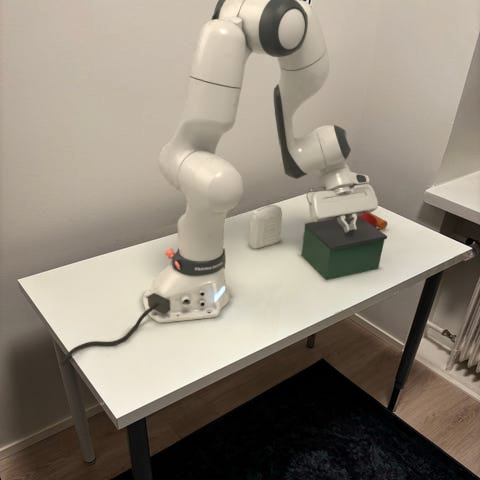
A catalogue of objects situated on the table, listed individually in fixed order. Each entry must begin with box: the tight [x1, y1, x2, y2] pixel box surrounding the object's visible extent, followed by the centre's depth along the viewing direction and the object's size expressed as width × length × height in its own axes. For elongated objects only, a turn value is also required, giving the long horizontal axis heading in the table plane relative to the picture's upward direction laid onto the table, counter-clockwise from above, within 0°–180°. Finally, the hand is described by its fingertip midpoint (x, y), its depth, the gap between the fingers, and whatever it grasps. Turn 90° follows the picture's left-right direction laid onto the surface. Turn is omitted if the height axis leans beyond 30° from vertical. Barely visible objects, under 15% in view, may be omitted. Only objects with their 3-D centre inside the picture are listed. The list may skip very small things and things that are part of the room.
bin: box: [300, 226, 386, 281], centre depth 146 cm, size 15×18×10 cm
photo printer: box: [249, 204, 283, 249], centre depth 153 cm, size 10×4×12 cm, turn 123°
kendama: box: [369, 212, 388, 231], centre depth 172 cm, size 6×6×20 cm
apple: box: [358, 213, 377, 228], centre depth 161 cm, size 8×8×8 cm
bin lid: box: [304, 215, 388, 250], centre depth 143 cm, size 15×18×1 cm
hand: (350, 231), depth 140 cm, fingers closed, pressing on bin lid
